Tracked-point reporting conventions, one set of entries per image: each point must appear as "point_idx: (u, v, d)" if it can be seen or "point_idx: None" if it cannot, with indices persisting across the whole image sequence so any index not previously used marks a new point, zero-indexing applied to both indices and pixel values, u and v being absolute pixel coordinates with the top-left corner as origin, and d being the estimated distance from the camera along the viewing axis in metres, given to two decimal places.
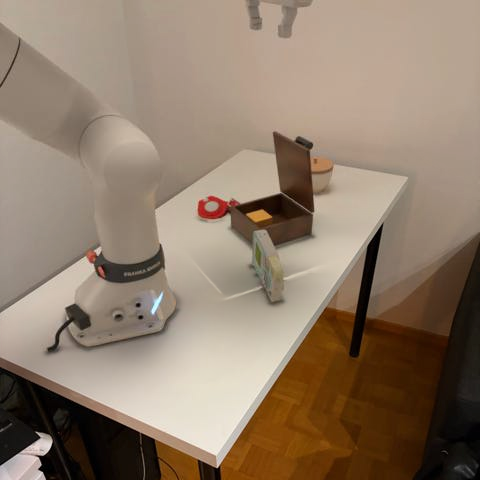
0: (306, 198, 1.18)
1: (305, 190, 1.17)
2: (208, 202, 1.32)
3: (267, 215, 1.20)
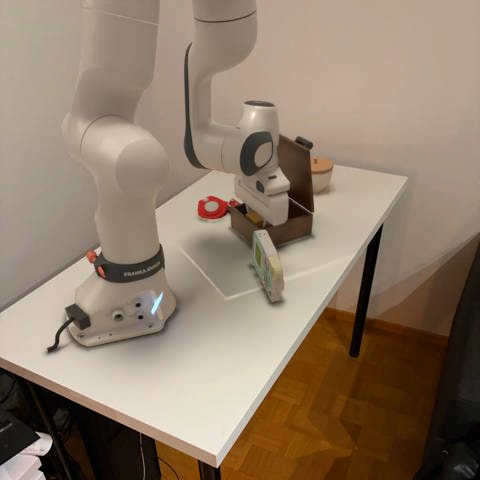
0: (306, 198, 1.18)
1: (305, 190, 1.17)
2: (208, 202, 1.32)
3: None
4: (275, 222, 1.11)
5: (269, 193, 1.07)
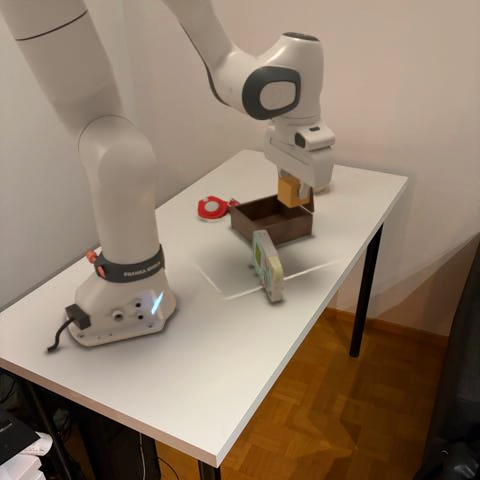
0: None
1: None
2: (208, 202, 1.32)
3: None
4: (317, 184, 0.93)
5: (311, 147, 0.89)
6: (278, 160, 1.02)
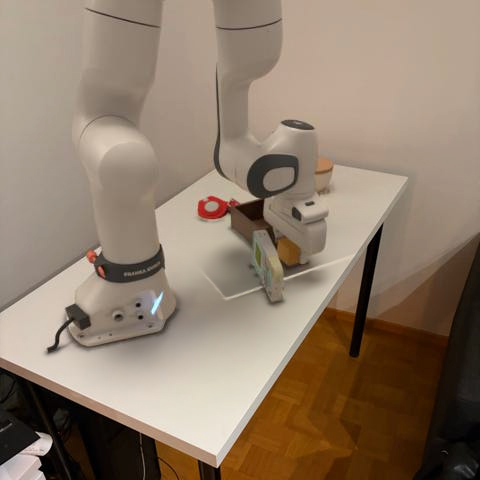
0: None
1: None
2: (208, 202, 1.32)
3: None
4: (312, 252, 1.02)
5: (307, 221, 0.99)
6: (277, 224, 1.11)
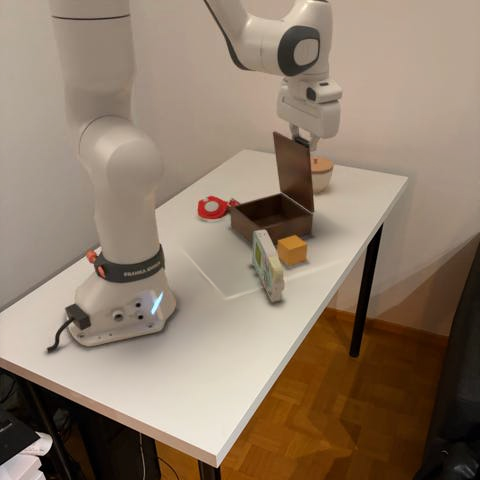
0: (306, 198, 1.18)
1: (305, 190, 1.17)
2: (208, 202, 1.32)
3: (301, 242, 1.12)
4: (326, 135, 1.04)
5: (321, 100, 1.01)
6: (290, 117, 1.13)
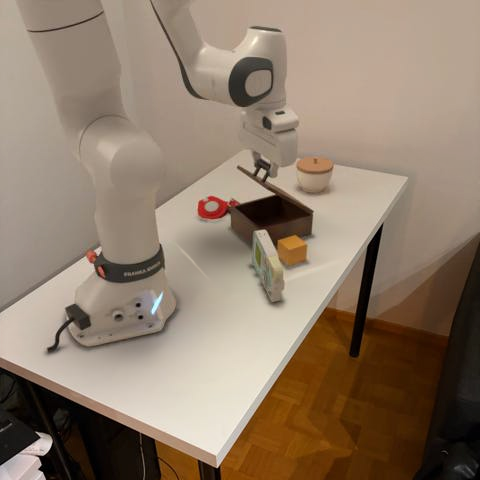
0: None
1: None
2: (208, 202, 1.32)
3: (301, 242, 1.12)
4: (283, 163, 1.03)
5: (277, 129, 0.99)
6: (250, 143, 1.12)
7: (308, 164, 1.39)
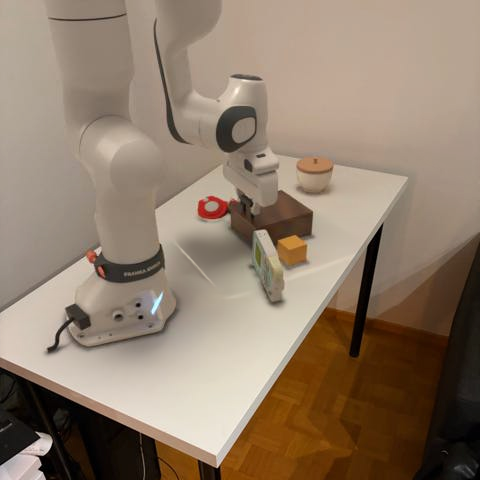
0: None
1: None
2: (208, 202, 1.32)
3: (301, 242, 1.12)
4: (264, 203, 1.07)
5: (257, 172, 1.03)
6: (234, 180, 1.16)
7: (309, 164, 1.39)
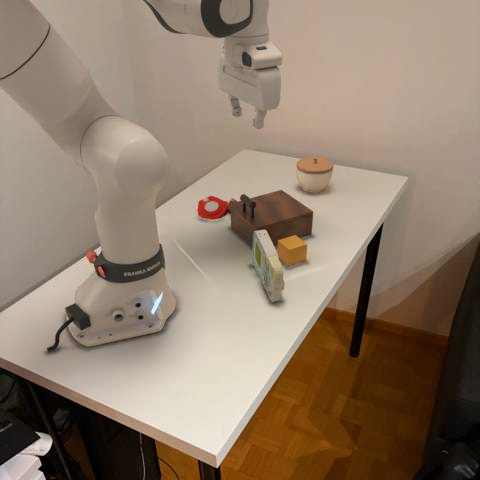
0: None
1: None
2: (208, 202, 1.32)
3: (301, 242, 1.12)
4: (265, 105, 0.93)
5: (257, 65, 0.90)
6: (231, 88, 1.02)
7: (309, 164, 1.39)
